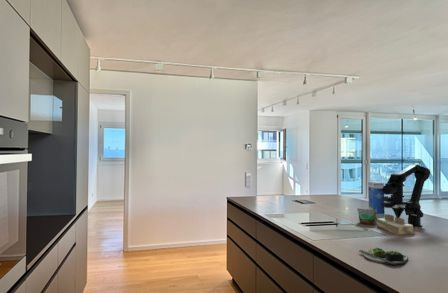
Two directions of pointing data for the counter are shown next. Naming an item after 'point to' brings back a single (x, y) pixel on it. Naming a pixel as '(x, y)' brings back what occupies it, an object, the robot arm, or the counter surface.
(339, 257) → the counter surface
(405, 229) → the box
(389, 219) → the cover
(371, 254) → the salad plate
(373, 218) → the food container
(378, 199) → the string lights box
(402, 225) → the lid
